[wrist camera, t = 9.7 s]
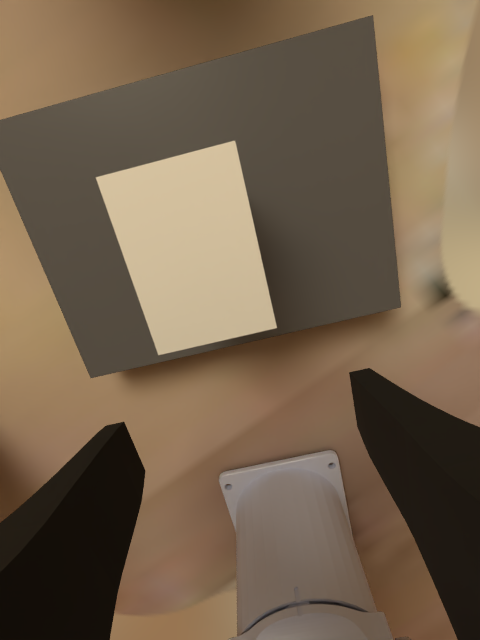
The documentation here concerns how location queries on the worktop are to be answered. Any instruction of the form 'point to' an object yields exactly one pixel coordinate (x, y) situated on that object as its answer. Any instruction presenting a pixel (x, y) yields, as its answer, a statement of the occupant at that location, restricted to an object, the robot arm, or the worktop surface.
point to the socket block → (259, 177)
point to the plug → (191, 247)
